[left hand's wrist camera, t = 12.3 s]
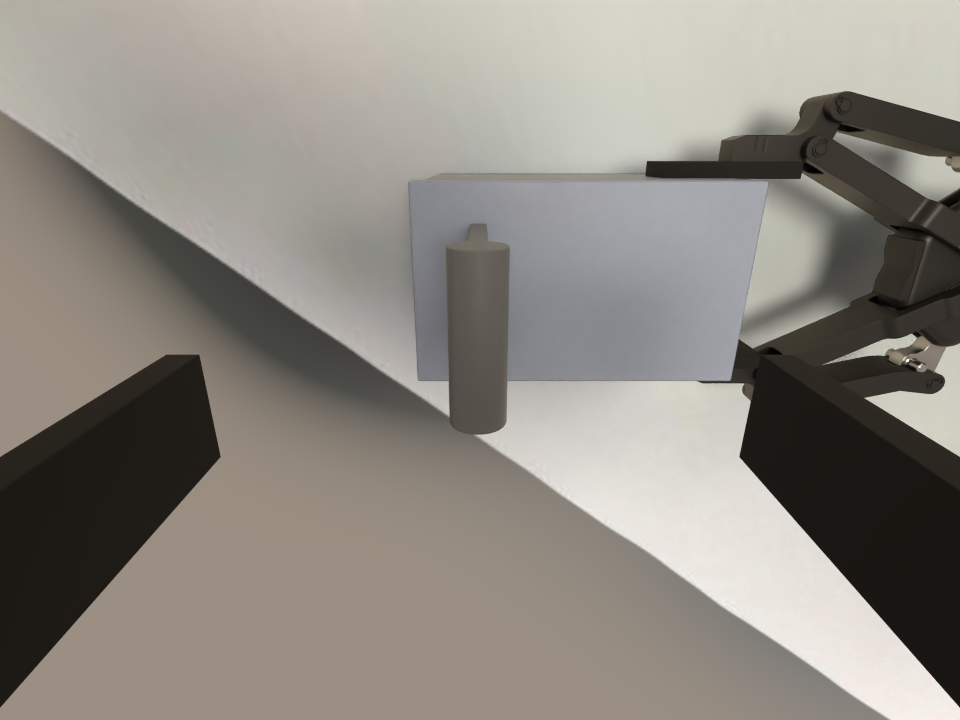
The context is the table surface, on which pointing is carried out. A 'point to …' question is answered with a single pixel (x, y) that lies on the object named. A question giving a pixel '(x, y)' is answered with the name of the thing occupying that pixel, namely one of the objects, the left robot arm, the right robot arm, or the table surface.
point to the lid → (577, 283)
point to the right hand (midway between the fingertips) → (643, 267)
